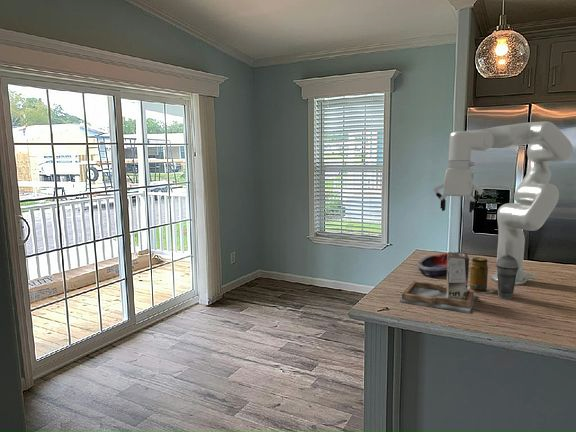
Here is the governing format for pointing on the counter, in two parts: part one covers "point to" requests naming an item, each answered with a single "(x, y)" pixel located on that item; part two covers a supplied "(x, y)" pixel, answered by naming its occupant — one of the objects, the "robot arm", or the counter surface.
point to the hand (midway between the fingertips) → (457, 211)
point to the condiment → (479, 276)
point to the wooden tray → (436, 297)
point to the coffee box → (457, 275)
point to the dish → (434, 264)
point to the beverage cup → (506, 275)
